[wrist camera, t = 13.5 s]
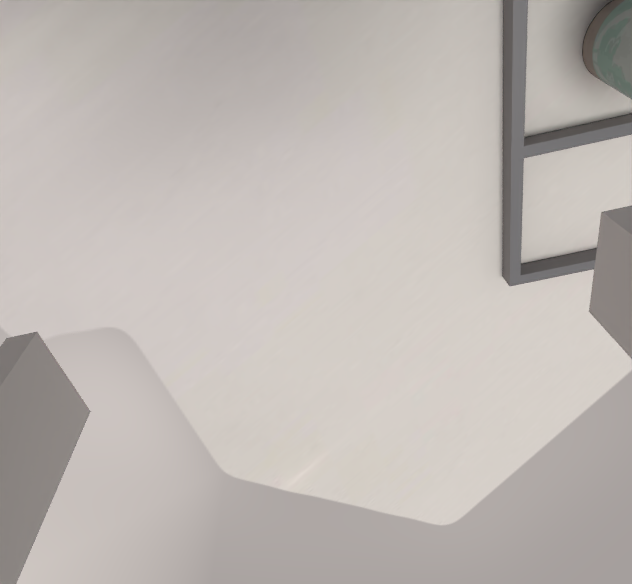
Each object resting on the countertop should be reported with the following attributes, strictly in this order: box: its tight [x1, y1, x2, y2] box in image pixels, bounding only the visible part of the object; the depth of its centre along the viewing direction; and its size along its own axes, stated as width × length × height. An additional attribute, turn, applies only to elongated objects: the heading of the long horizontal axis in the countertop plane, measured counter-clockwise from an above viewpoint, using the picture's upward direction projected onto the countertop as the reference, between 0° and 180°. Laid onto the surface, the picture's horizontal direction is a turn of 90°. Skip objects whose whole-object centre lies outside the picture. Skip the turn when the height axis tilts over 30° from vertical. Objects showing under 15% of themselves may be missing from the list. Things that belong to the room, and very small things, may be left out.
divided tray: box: [503, 0, 632, 286], centre depth 40 cm, size 26×19×2 cm
